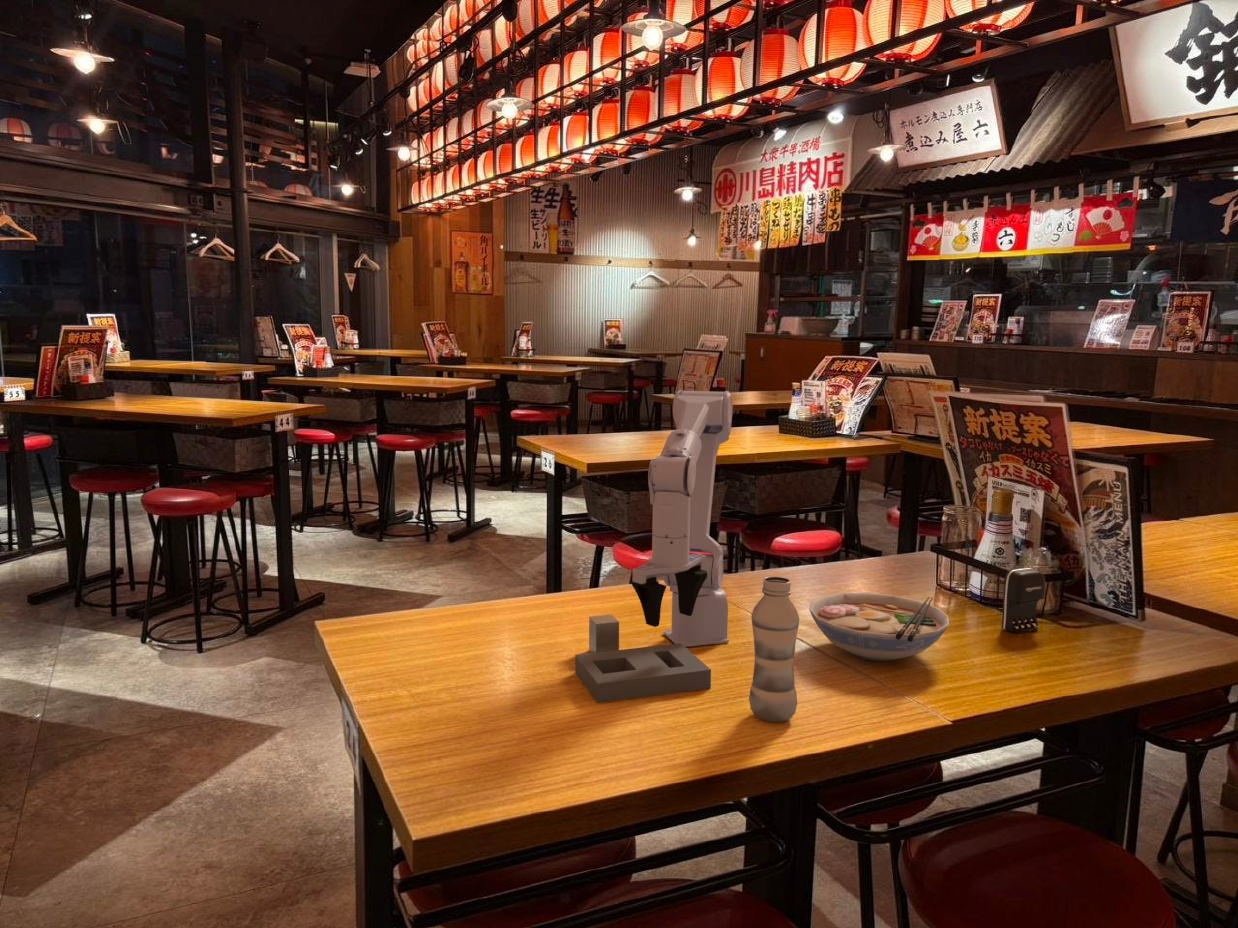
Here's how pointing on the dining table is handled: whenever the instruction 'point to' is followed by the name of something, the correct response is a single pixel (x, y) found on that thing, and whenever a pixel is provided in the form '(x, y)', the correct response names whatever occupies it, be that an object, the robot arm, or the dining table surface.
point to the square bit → (603, 633)
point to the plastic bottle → (774, 652)
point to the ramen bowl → (879, 624)
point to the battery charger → (1022, 599)
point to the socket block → (641, 672)
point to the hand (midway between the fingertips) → (669, 619)
